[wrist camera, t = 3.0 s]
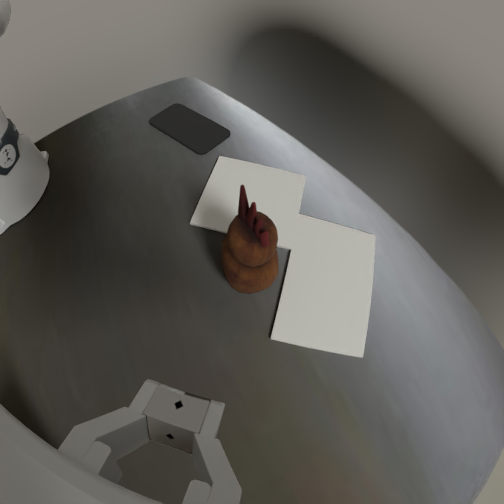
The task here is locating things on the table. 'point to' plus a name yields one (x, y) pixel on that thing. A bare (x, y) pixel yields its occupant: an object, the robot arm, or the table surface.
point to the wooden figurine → (250, 249)
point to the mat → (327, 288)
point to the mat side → (251, 197)
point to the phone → (190, 128)
